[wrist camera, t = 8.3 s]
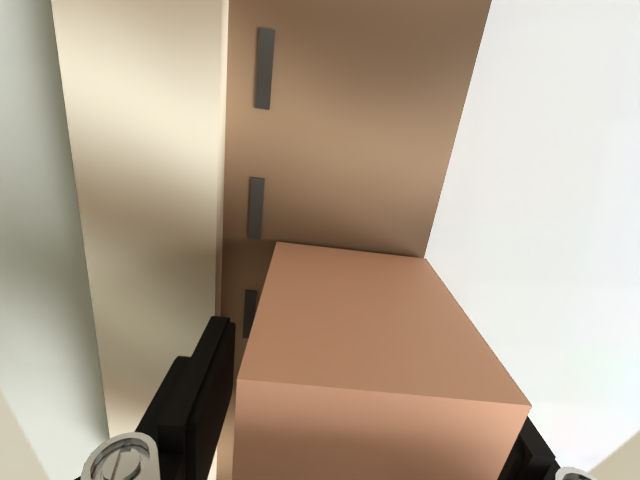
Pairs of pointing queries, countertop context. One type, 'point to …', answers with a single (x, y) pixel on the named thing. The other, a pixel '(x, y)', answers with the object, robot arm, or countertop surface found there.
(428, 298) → the peach rectangular block
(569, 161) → the countertop surface
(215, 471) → the board
